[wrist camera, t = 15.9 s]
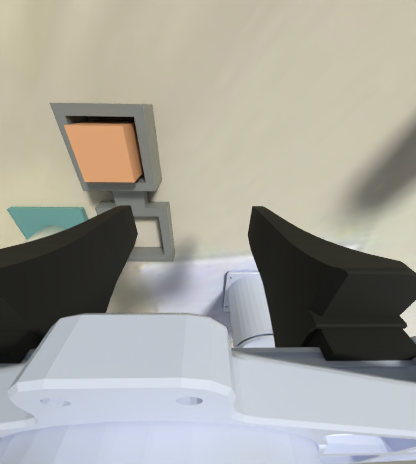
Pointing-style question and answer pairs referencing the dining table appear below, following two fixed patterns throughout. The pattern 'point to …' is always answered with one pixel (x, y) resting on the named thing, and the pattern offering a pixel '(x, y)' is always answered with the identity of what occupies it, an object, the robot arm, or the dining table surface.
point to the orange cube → (106, 150)
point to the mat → (46, 218)
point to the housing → (126, 191)
